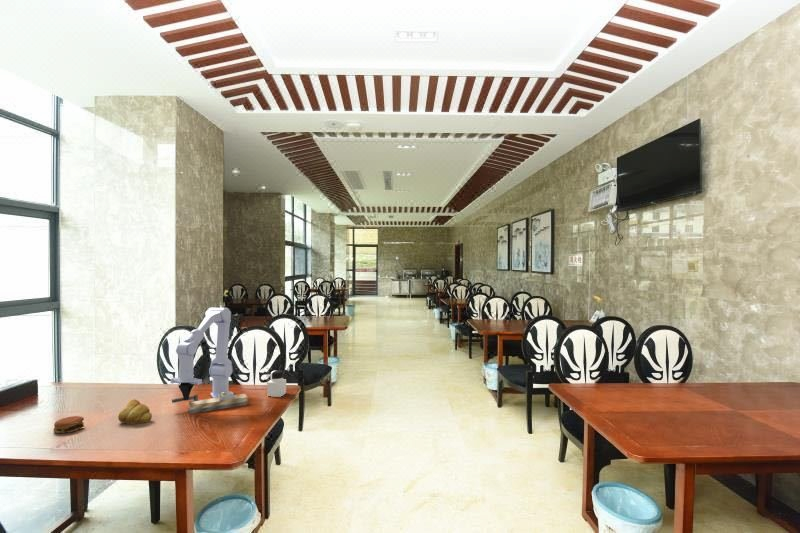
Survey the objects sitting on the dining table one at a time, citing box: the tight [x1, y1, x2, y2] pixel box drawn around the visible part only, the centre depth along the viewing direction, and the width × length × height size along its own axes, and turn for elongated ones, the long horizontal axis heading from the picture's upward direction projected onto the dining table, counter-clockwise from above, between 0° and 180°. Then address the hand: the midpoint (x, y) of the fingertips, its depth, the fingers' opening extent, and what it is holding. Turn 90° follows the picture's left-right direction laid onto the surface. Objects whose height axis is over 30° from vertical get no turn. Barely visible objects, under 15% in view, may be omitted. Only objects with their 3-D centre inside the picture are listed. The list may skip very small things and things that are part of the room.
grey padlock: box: [266, 369, 287, 398], centre depth 212 cm, size 7×7×12 cm
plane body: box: [188, 393, 249, 414], centre depth 192 cm, size 24×7×4 cm, turn 123°
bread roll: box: [117, 398, 153, 425], centre depth 173 cm, size 13×10×8 cm
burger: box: [53, 415, 85, 434], centre depth 164 cm, size 10×9×5 cm
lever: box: [171, 394, 199, 404], centre depth 188 cm, size 10×2×5 cm, turn 129°
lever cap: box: [218, 391, 235, 401], centre depth 194 cm, size 5×6×3 cm
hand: (186, 399), depth 187 cm, fingers closed, pressing on lever
